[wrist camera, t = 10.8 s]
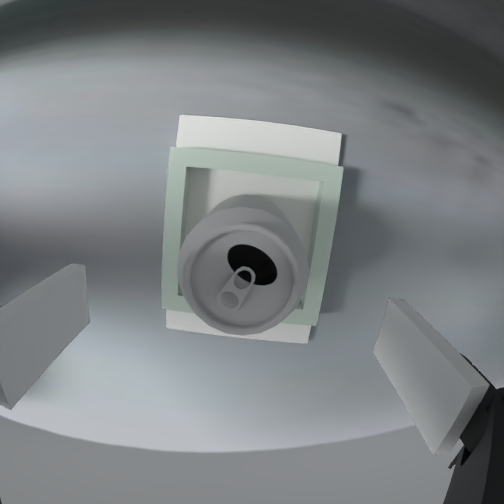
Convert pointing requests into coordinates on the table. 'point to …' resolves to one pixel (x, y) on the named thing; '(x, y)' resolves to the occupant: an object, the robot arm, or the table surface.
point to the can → (243, 266)
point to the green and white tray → (253, 183)
